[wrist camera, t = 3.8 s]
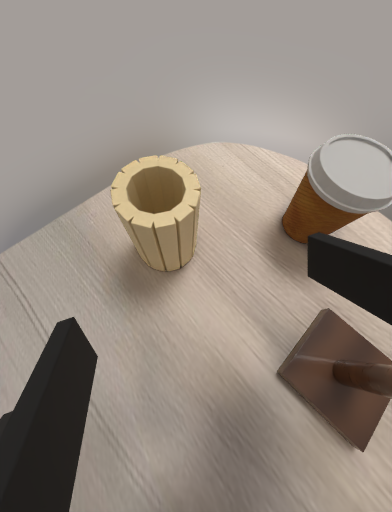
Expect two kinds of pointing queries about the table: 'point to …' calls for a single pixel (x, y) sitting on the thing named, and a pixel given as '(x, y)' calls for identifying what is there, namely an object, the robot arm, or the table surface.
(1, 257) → the table surface
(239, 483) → the table surface
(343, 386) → the spindle stand
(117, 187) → the wooden stave sleeve
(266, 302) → the table surface
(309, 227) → the disposable coffee cup
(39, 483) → the robot arm
